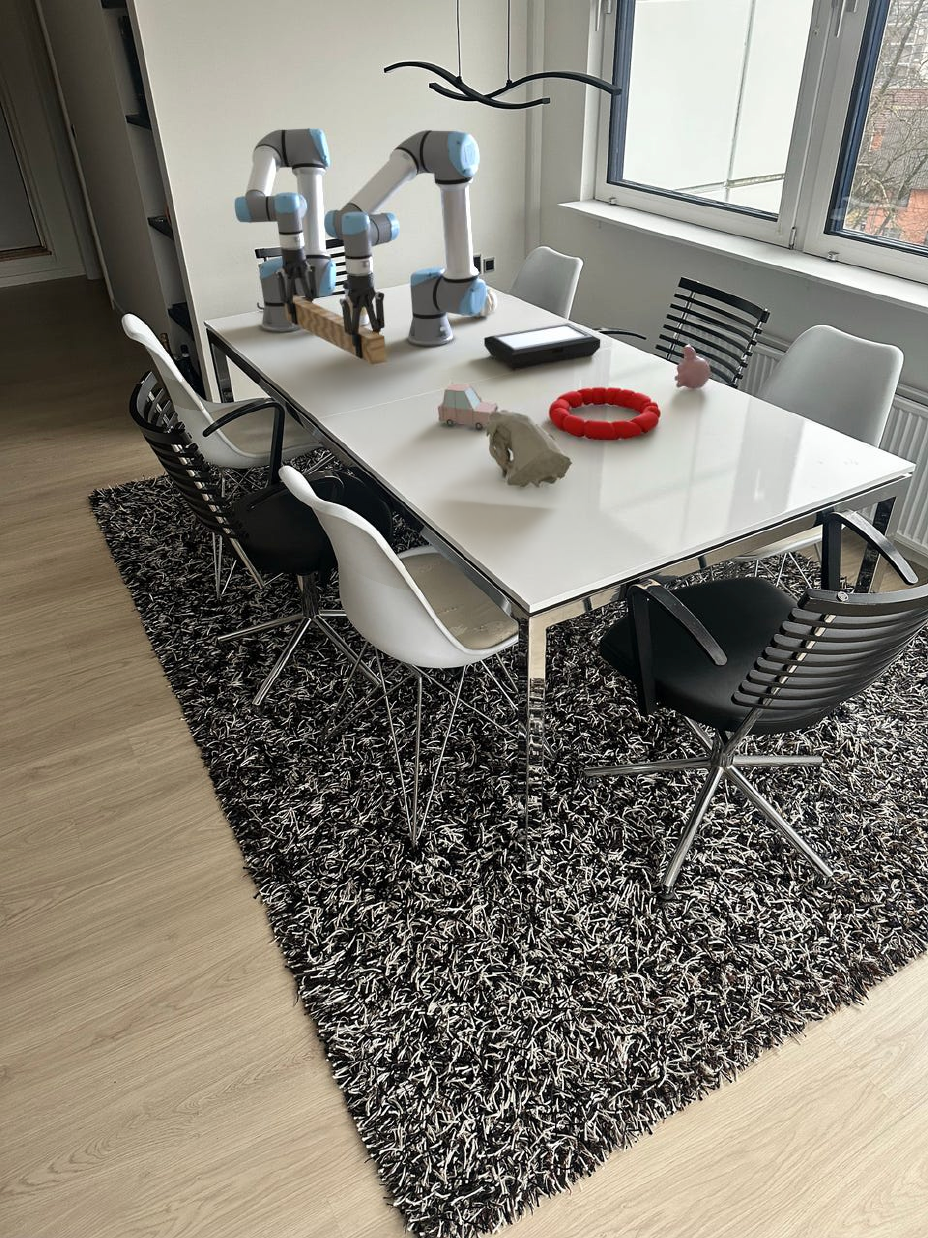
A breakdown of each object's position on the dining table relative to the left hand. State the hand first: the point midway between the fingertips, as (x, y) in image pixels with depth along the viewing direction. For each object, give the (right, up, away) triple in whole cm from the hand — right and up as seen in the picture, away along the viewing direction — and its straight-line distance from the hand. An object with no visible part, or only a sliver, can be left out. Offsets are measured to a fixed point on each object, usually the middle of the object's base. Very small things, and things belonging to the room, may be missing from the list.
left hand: (302, 321), depth 294 cm
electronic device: (+79, -12, -3) cm, 80 cm away
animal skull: (+68, -61, -74) cm, 117 cm away
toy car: (+55, -44, -48) cm, 85 cm away
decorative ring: (+92, -44, -50) cm, 114 cm away
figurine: (+120, -30, -31) cm, 128 cm away
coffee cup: (+15, +10, +33) cm, 38 cm away
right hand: (+25, -20, -31) cm, 45 cm away
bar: (+12, -11, -15) cm, 22 cm away
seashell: (+60, +14, +36) cm, 72 cm away
